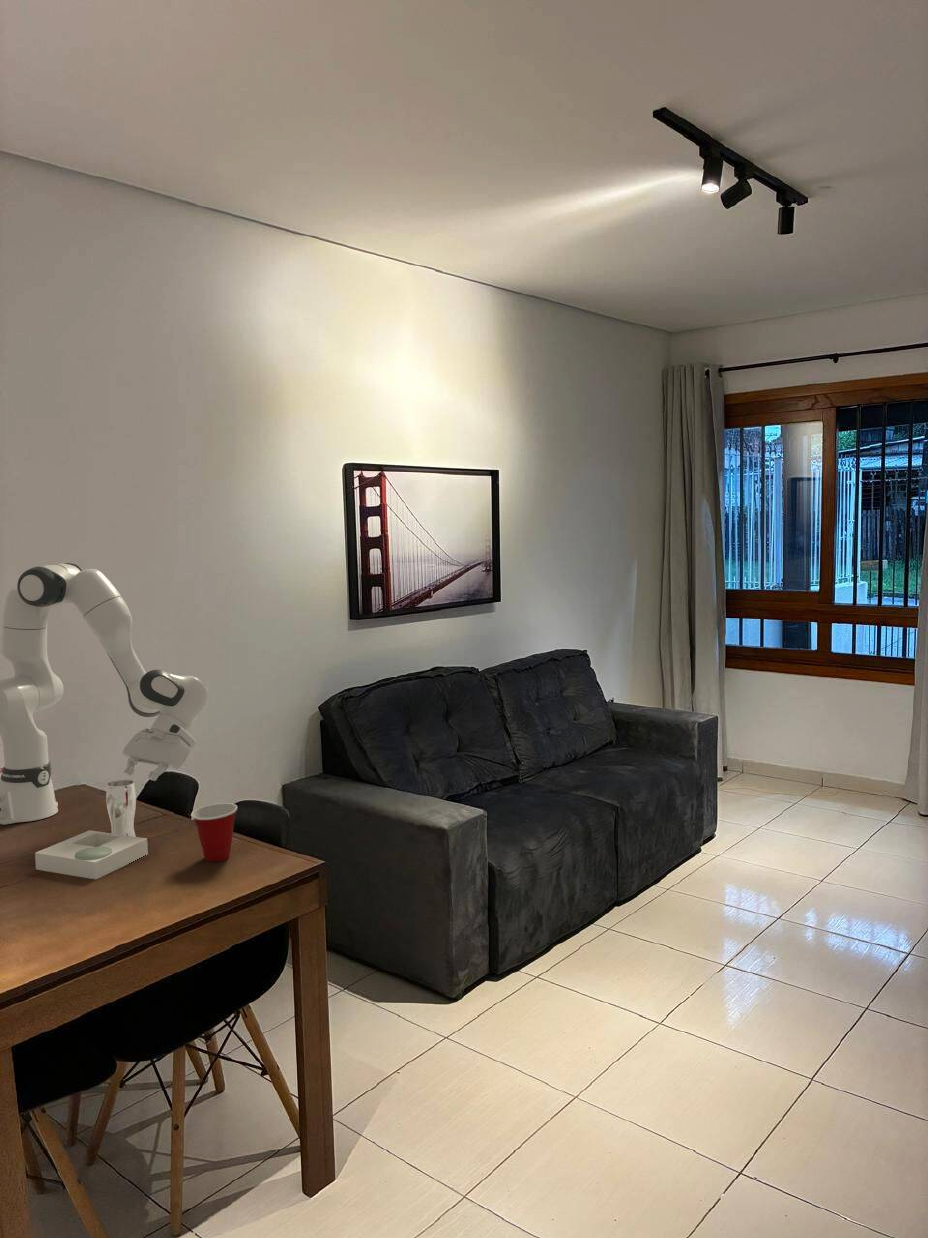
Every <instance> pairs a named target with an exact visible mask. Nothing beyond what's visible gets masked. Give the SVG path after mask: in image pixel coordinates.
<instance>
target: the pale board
mask: <svg viewBox="0 0 928 1238" xmlns="http://www.w3.org/2000/svg"><path fill="white" fill-rule="evenodd" d="M148 843H149V842H148V838H145V837H140V836H139V837H138V836H136V837H133V836H126V835H119V834H112V832H104V831H97V830H91V829H90V830H87V831H85V832H82V833H80V834H76V835H75V836H73V837H70V838H67V839H65V840H63V841H60V842H58V843H56V844H52V845H50V846H49V847H45V848H43V849H40V850H38V851H36V852H35V853H34V855H35V856H34V859H35V860H34V861H35V870H39V871H43V872H48V873H54V874H60V875H66V876H73V877H80V878H85V879H90V880H98V879H100V878H103V877H105V876H107V875H109V874H110V873H113V872H115V871H117V870H119V869H121V868H123V867H125V866H128V865H129V863H130V864H131V862H132V863H133V861H134V862H136V861H138V860H140V859H142V858H144V857H146V856H148V855H149V849H148V848H149V847H148V846H149V845H148ZM145 855H146V856H145ZM143 856H144V857H143ZM141 857H142V858H141ZM139 858H140V859H139ZM137 859H138V860H137ZM135 860H136V861H135Z"/></svg>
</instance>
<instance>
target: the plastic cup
mask: <svg viewBox="0 0 928 1238" xmlns="http://www.w3.org/2000/svg"><path fill="white" fill-rule="evenodd" d="M237 810H238V805H237V804H235V803H229V802H222V803H221V802H220V803H212V804H209V805H204V806H201V807H199V808H195V810H193V811H192V812H191V814H190V817H191V818H193V820H194V823H195V826H196V829H197V832H198V837H199V842H200V845H201V849H202V853H203V856H204V859H205V860H206V861H207V862H214V861H215V862H221V861H225V860H228V859H229V858H228V857H230V855H231V849H232V848H231V846H232V842H233V834H234V827H235V825H234V824H235V821H236V819H235V818H236V812H237ZM215 862H214V863H215Z"/></svg>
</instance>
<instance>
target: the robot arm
mask: <svg viewBox="0 0 928 1238" xmlns="http://www.w3.org/2000/svg"><path fill="white" fill-rule="evenodd" d="M67 603H71V604H73V605H75V607H76V608H77V610H78V611H79V613H80V614H81V616H82V617H83V620H84V621H85V622H86V624H87V625H88V626H89V628H90V629H91V631H92V632H93V633H94V635H95V637H96V638H97V639H98V641H99V642H100V644H101V646H102V648H103V649H104V650H105V651H106V654H107V656H108V657H109V659H110V661H111V663H112V664H113V666H114V668H115V670H116V671H117V673H118V675H119V677H120V678H121V680H122V682H123V684H124V686H125V689H126V691H127V698H128V699H127V700H128V704H129V707H130V708H131V710H132V711H133V712H134V713H136V715H138V716H140V717H144V718H152V717H153V718H154V717H156V716H157V717H156V719H155V720H154V721H153V723H152V725H151V727H150V728H144V729H142V730H139V732H137V733H135V734H134V735H133V736H132V737H131V739H130V740H129V741H128V742H127V744H126V745H125V746H124V748H123V749H122V755H123V756H124V757H125V758H127V759H128V760H127V765H126V767H125V769H124V771H123V772H124V775H126V776H130V777H132V776H133V775H134V773H135V772H136V771H135V767H136V766H135V765H138V763H139V762H140V763H142V764H143V763H144V764H150V765H154V766H157V768H155V769H154V770H152V771H150V772H149V774H148V776H147V778H148V779H149V780H151V781H154V782H156V781H157V779H158V777H159V776H161V775H163V773H165V772H166V771H167V770H168V768H170V769H175V770H178V769H179V768H181V767H182V766H183V764H184V763H185V762H186V760H187V758H188V757H189V756H190V754H191V751H192V748H194V747H195V746H196V744H197V740H196V739H195V738H194V737H193V736H192V735H191V734H190V733H189V732H190V730H191V726H192V724H193V723H194V721H196V720H197V719H198V717H199V716H200V714H201V713H202V711H203V709H204V707H205V705H206V703H207V701H208V698H209V690H208V687H207V685H206V684H205V683H204V682H203V681H202V680H201V679H200V678H197V677H196V676H193V675H177V674H172V673H170V672H168V671H165V670H162V669H153V670H149V671H146V670H145V668H144V667H143V665H142V663H141V661H140V659H139V658H138V655H137V653H136V652H135V650H134V647H133V643H132V630H133V617H132V613H131V612H130V609H129V607H128V604H127V603H126V601H125V599H124V598H123V596H122V595H121V594H120V592H119V591H118V589H117V588H116V587H115V585H114V584H113V583H112V582H111V580H110V579H109V578H108V577H107V576H106V575H105V574H104V573H103V572H101V570H98V569H96V568H87V569H85V568H83V567H82V566H80V565H78V564H75V563H70V562H69V563H68V562H65V563H50V564H47V565H41V566H34V567H31V568H28V569H27V570H26V571H24V572H22V574H20V576H19V578H18V580H17V584H16V586H15V587H13V588H12V589H10V590H9V592H8V593H7V595H6V600H5V604H4V609H3V616H2V617H3V618H2V635H1V636H2V638H1V641H2V642H1V653H2V655H3V657H4V658H6V660H8V661H10V663H11V664H12V667H13V670H14V676H13V677H9V678H5V679H1V680H0V739H1V741H2V750H3V758H4V759H3V763H4V766H3V767H1V768H0V773H1V774H0V825H9V824H16V823H25V822H32V821H39V820H42V819H46V818H49V817H51V816H54V815H55V814H57V813H58V812H59V808H58V806H59V804H58V803H59V802H58V801H57V800H56V797H55V796H56V795H55V790H54V786H53V785H54V784H53V780H52V778H51V775H52V766H51V761H49V759H50V757H49V743H48V736H47V734H46V733H45V731H43V730H41V729H39V728H38V727H37V725H36V723H35V720H34V715H33V714H36V713H40V712H42V711H43V712H44V711H46V710H48V709H50V708H52V707H54V706H55V705H56V704H58V703H60V702H61V700H62V698H63V696H64V691H65V690H64V684H63V682H62V680H61V678H60V677H59V676H58V675H56V674H55V673H54V672H53V670H52V667H51V665H50V661H49V656H48V655H49V654H48V625H49V624H48V619H49V611H50V610H51V608H52V607H53V606H54V607H55V606H61V605H64V604H67Z"/></svg>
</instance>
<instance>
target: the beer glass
mask: <svg viewBox="0 0 928 1238" xmlns="http://www.w3.org/2000/svg"><path fill="white" fill-rule="evenodd" d="M135 787H136V786H135V780H133V779H127V778H126V779H125V778H124V779H117V780H111V781H108V782H107V783H106V795H105V798H106V800H105V801H106V809H107V813H108V814H107V815H108V816H109V820H110V826H111V833H112V834H119V835H126V836H133V837H137V836H136V832H135V827H134V826H135V825H134V823H135V822H134V821H135V815H136V804H137V799H136V798H137V797H136V796H137V795H136V794H137V793H136V788H135Z"/></svg>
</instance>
